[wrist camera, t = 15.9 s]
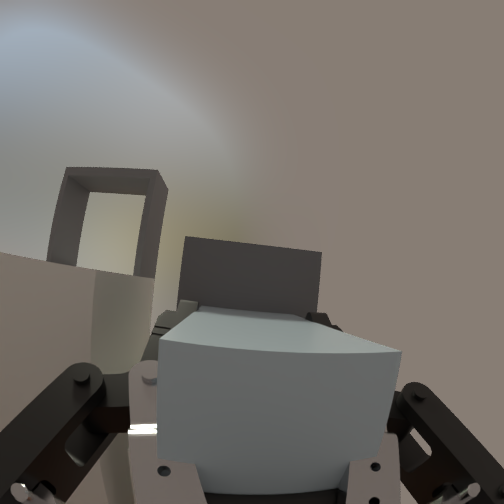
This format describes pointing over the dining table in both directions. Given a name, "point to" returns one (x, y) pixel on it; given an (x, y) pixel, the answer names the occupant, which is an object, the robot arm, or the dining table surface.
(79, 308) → the grey stepped fixture
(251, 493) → the plug
